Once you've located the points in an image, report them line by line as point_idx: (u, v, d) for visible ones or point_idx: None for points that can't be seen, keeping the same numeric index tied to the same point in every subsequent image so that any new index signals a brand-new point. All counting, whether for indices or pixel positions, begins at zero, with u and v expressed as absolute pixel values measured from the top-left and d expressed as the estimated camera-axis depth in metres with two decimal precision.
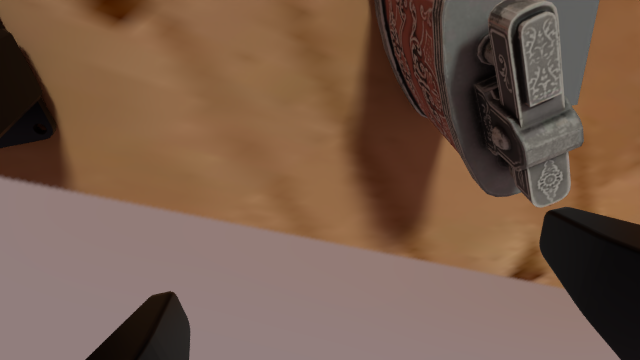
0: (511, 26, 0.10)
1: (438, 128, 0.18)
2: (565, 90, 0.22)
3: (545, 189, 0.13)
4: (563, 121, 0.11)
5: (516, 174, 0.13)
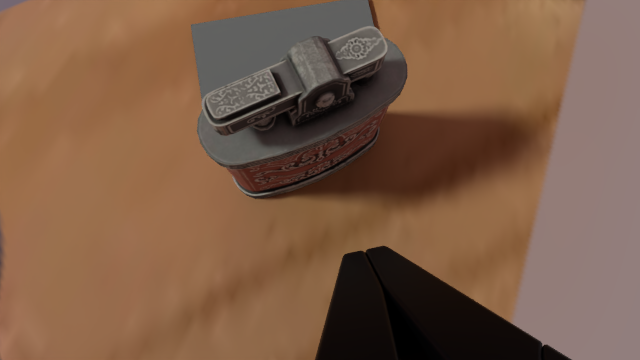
0: (219, 124, 0.13)
1: (373, 129, 0.20)
2: (353, 11, 0.24)
3: (367, 49, 0.14)
4: (294, 59, 0.13)
5: (362, 75, 0.14)
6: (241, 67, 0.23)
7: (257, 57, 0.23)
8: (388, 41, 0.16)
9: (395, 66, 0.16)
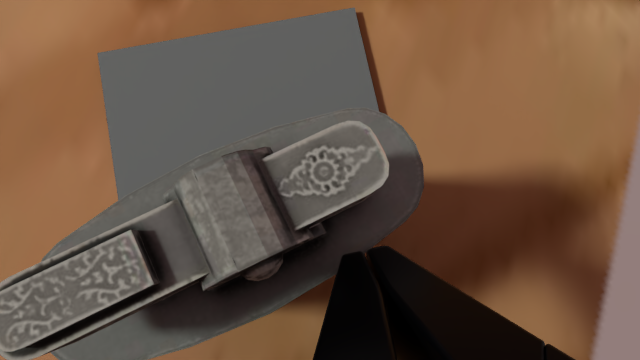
0: (21, 354, 0.06)
1: None
2: (335, 30, 0.17)
3: (346, 173, 0.06)
4: (187, 204, 0.06)
5: (338, 212, 0.07)
6: (172, 117, 0.16)
7: (196, 102, 0.16)
8: (389, 119, 0.09)
9: (402, 167, 0.09)
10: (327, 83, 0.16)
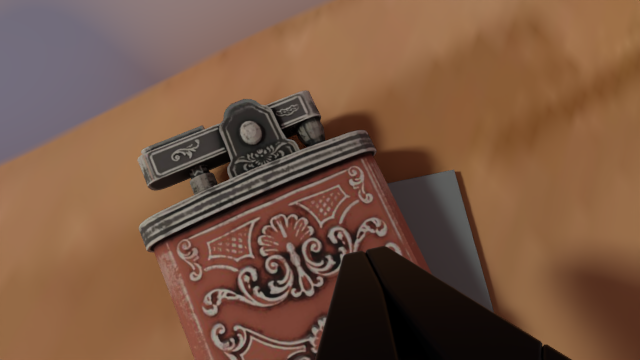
0: (143, 156, 0.14)
1: None
2: (435, 195, 0.16)
3: None
4: None
5: (292, 117, 0.14)
6: None
7: None
8: None
9: None
10: (430, 254, 0.16)
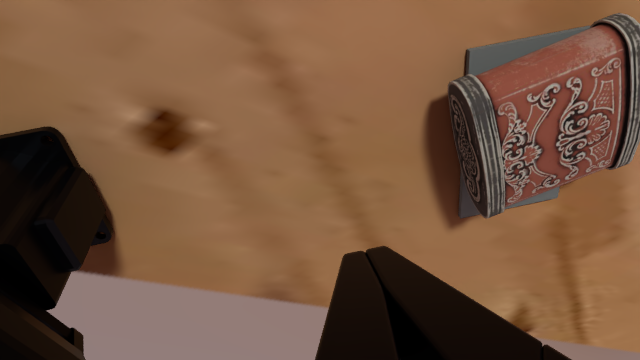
0: None
1: (549, 185, 0.21)
2: None
3: None
4: None
5: None
6: None
7: None
8: None
9: None
10: None
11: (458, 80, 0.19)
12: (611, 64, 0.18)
